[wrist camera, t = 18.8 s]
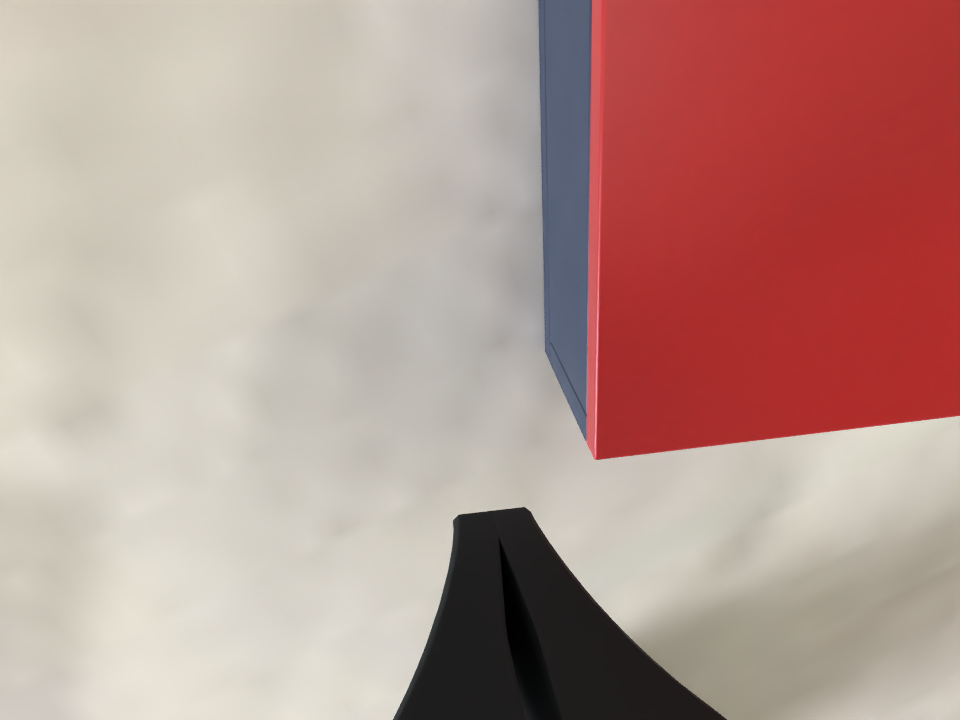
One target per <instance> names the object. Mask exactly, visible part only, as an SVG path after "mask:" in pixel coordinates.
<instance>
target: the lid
mask: <svg viewBox="0 0 960 720" xmlns="http://www.w3.org/2000/svg"><path fill="white" fill-rule="evenodd" d="M954 416H960V0H592V48H591V134H590V220H589V305H588V391H587V444H588V446H589V448H590V450H591V453H592V455H593V457H594V459H596V460H599V459H608V458H616V457H624V456H632V455H641V454H649V453H657V452H665V451H674V450H682V449H690V448H698V447H707V446H715V445H723V444H731V443H740V442H748V441H756V440H764V439H773V438H781V437H789V436H797V435H806V434H814V433H822V432H830V431H839V430H847V429H855V428H863V427H872V426H880V425H888V424H896V423H905V422H913V421H921V420H929V419H938V418H946V417H954Z"/></svg>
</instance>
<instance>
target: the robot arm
mask: <svg viewBox="0 0 960 720" xmlns="http://www.w3.org/2000/svg"><path fill="white" fill-rule="evenodd" d="M453 526H454V534H453V546H452V553H451V558H450V564H449V569H448V573H447V577H446V581H445V585H444V589H443V593H442V597H441V601H440V605H439V608H438V611H437V614H436V617H435V620H434V623H433V626H432V629H431V632H430V635H429V638H428V641H427V644H426V646H425V649H424V652H423V654H422V657H421V659H420V662H419V664H418V667H417V669H416V671H415V674H414V676H413V678H412V681H411V683H410V685H409V688H408V690H407V692H406V694H405V696H404V698H403V700H402V702H401V704H400V707H399V709H398V711H397V713H396V715H395V717H394V719H393V720H727V719H726V718H724V717H723V716H722V715H721V714H719V713H718V712H717V711H715V710H714V709H713V708H712V707H710V706H709V705H708V704H706V703H705V702H704V701H702V700H701V699H700V698H699V697H697V696H696V695H695V694H693V693H692V692H691V691H690V690H688V689H687V688H686V687H684V686H683V685H682V684H681V683H679V682H678V681H677V680H676V679H675V678H673V677H672V676H671V675H670V674H669V673H668V672H667V671H665V670H664V669H663V668H662V667H661V666H660V665H659V664H657V663H656V662H655V661H654V660H653V659H652V658H651V657H650V656H649V655H647V654H646V653H645V652H644V651H643V650H642V649H641V648H640V647H639V646H638V645H637V644H636V643H635V642H634V641H633V640H632V639H631V638H630V637H629V636H628V635H627V634H626V633H625V632H624V631H623V630H622V629H621V628H620V627H619V626H618V625H617V624H616V623H615V622H614V621H613V620H612V619H611V618H610V617H609V616H608V614H607V613H606V612H605V611H604V610H603V609H602V608H601V607H600V606H599V605H598V603H597V602H596V601H595V600H594V599H593V598H592V597H591V595H590V594H589V593H588V592H587V591H586V590H585V588H584V587H583V586H582V585H581V583H580V582H579V581H578V580H577V578H576V577H575V576H574V575H573V573H572V572H571V571H570V570H569V568H568V567H567V566H566V565H565V563H564V562H563V561H562V559H561V558H560V557H559V555H558V554H557V552H556V551H555V550H554V548H553V547H552V545H551V544H550V543H549V541H548V540H547V538H546V537H545V535H544V534H543V532H542V530H541V529H540V527H539V526H538V524H537V522H536V521H535V519H534V517H533V515H532V514H531V512H530V511H529V510H528V509H526V508H525V507H522V508H513V509H504V510H496V511H487V512H479V513H470V514H461V515H458V516H457V517H456V518H455V519H454V520H453Z"/></svg>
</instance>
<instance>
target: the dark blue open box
mask: <svg viewBox="0 0 960 720" xmlns="http://www.w3.org/2000/svg"><path fill="white" fill-rule="evenodd" d="M591 48H592V0H539V50H540V101H541V152H542V204H543V255H544V306H545V352H546V354H547V356H548V359H549V361H550V363H551V366H552V368H553V370H554V372H555V374H556V377H557V379H558V381H559V383H560V385H561V388H562V390H563V392H564V394H565V396H566V399H567V401H568V403H569V405H570V407H571V410H572V412H573V414H574V416H575V418H576V421H577V423H578V425H579V427H580V429H581V432H582V434H583V436H584V438H585V440H586V441H587V391H588V305H589V220H590V134H591Z"/></svg>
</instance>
